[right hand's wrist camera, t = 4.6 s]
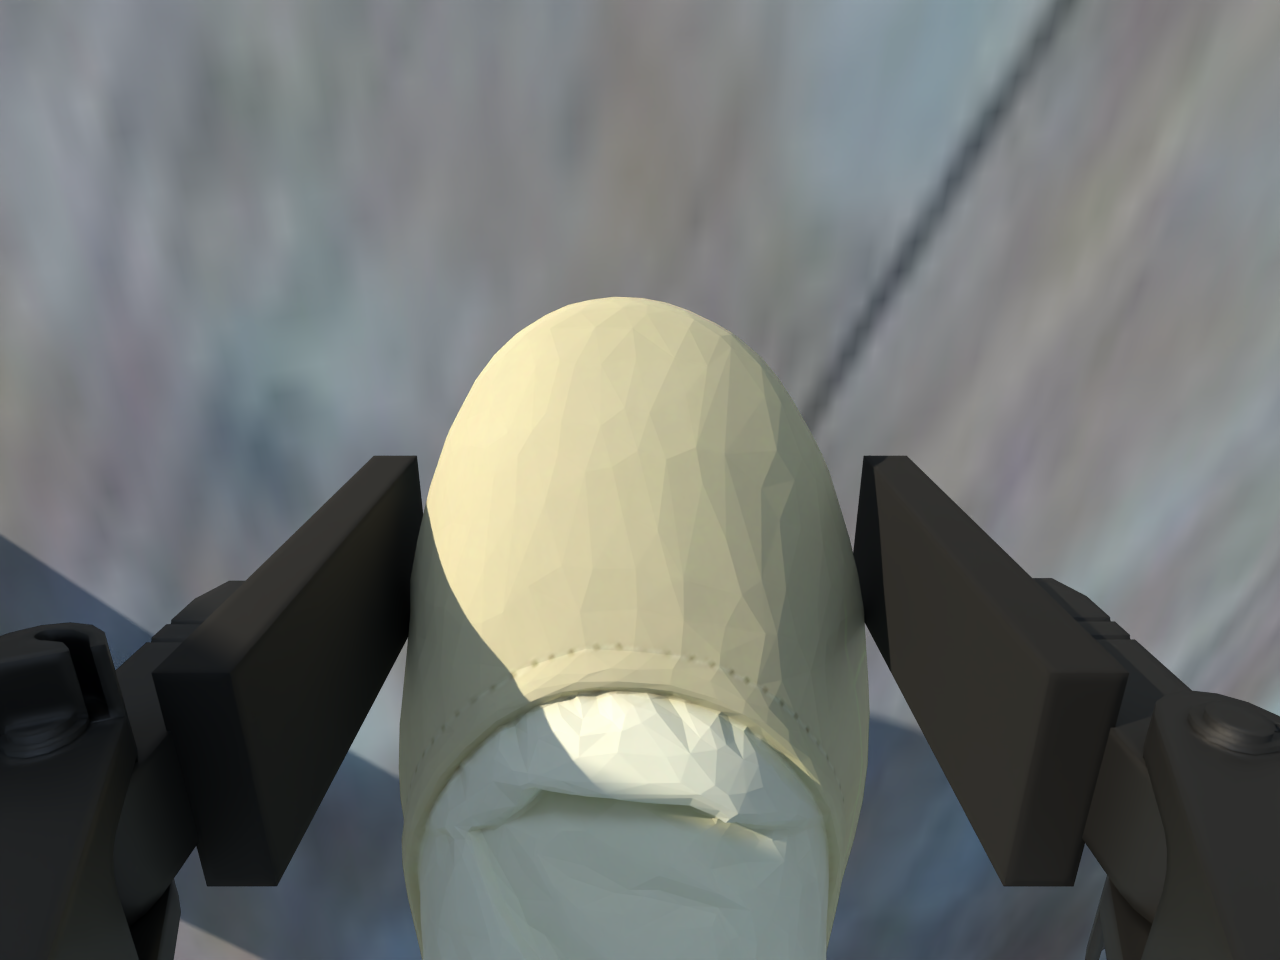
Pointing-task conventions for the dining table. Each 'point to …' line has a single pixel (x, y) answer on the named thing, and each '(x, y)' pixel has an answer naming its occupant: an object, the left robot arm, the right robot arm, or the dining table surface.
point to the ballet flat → (631, 657)
